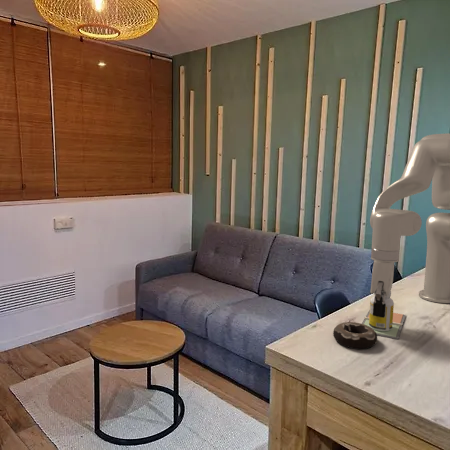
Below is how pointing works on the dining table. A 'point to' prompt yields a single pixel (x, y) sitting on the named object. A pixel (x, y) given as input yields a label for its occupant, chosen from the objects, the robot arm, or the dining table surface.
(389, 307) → the pill bottle
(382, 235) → the robot arm
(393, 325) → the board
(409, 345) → the dining table surface
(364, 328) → the donut
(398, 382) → the dining table surface
